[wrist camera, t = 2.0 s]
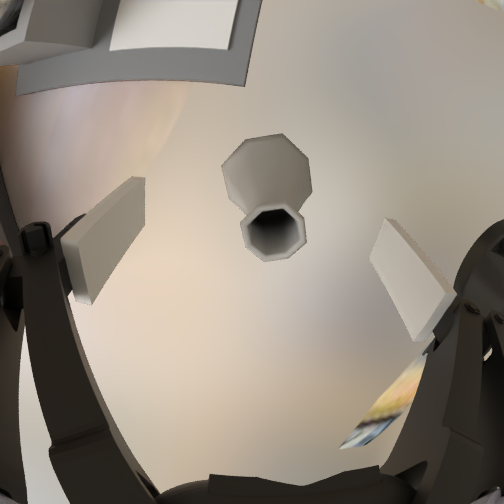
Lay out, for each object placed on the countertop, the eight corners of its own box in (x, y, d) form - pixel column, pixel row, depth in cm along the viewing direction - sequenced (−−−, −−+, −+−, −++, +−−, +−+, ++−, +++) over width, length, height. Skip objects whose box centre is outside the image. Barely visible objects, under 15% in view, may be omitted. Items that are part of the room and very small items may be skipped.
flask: (286, 118, 19) (310, 132, 11) (325, 195, 23) (364, 259, 14) (206, 161, 21) (170, 207, 13) (250, 231, 24) (246, 309, 16)
